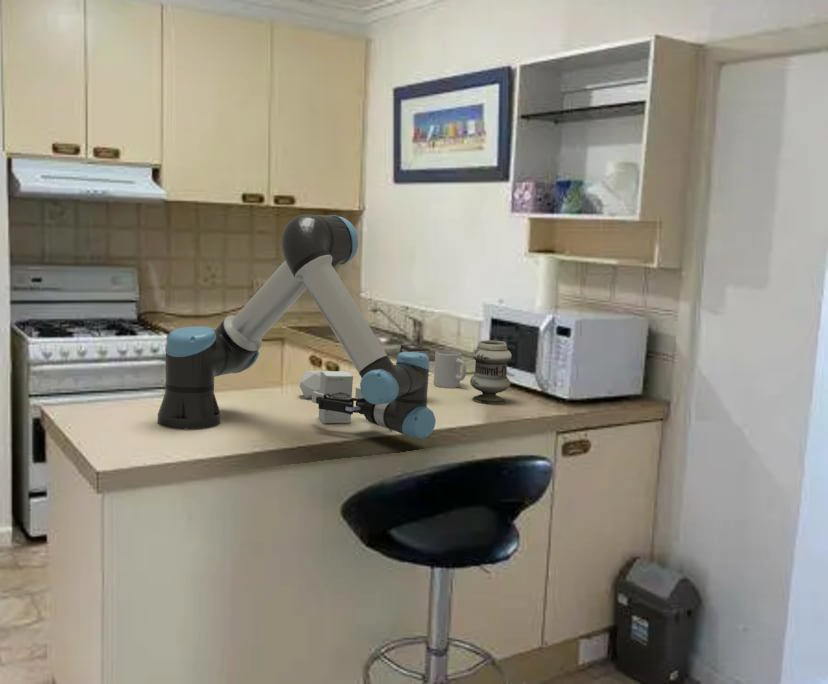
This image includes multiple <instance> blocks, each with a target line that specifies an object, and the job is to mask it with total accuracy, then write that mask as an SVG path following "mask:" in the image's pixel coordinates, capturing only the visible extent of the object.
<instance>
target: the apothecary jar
mask: <svg viewBox="0 0 828 684" xmlns="http://www.w3.org/2000/svg"><path fill="white" fill-rule="evenodd" d="M471 354H472V358H473V359H474V360H475V367H474V374H473V375H472V376H471V377H470V379H469V380H470V381H469V382H470V386H471V387H472V388H473V389H475V390H477V391H479V392H481V393H482V394H481V393H480V394H478V395H474V396H473V397H472V401H474V402H475V403H481V404H488V405H501V404H504V403H505V402H506V401H505V398H502V397H501V396H499V395H497V394H499V393H502V392H505V391H507V390H508V389H509V388H510V386H511V381H510V378H509V377H508V376H507V374H508V372H507V370H508V362H510V361H511V360H512V353H511V351H510V350H508V346H507V342H506V341H502V340H501V341H500V340H491V339H489V340H487V339H485V340H484V339H483V340H480V341H478V344H477V347H476V348H474V350H473V351H472V353H471Z"/></svg>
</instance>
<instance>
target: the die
mask: <svg viewBox="0 0 828 684" xmlns="http://www.w3.org/2000/svg"><path fill="white" fill-rule="evenodd" d="M321 371H322V370H305V371H304V373H303V376H302V378H301V381H300V382H299V383H300V384H299V386H298V387H299V388H300V390H301V392H302V395H303V397H304V399H312V392H313V391H315V392H318V393H320V377H321Z"/></svg>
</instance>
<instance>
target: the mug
mask: <svg viewBox="0 0 828 684" xmlns="http://www.w3.org/2000/svg"><path fill="white" fill-rule="evenodd" d="M434 354H435V355H434V357H435V358H434V373H433V386H434V385H435V386H434V387H437V386H438V388H441V387H445V388H444V389H457V388H456V387H458V388H459V387H460V386H461V385H460V384H461V381H463V380H465V378H466V375H467V364H466V362H465V361H464V360H462V352H460V351H455V350H436V351H435V353H434ZM461 370H462V371H461Z"/></svg>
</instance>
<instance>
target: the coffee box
mask: <svg viewBox="0 0 828 684" xmlns="http://www.w3.org/2000/svg"><path fill="white" fill-rule="evenodd" d="M399 351H400V352H399V353H401V352H418V353H423V354H426V355H427V356H428V358H429V360H430V355H431V349H430V348H428V347H426V346H423V345H421V344H413V343H412V344H400V349H399ZM427 392H428V389H427Z"/></svg>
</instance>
